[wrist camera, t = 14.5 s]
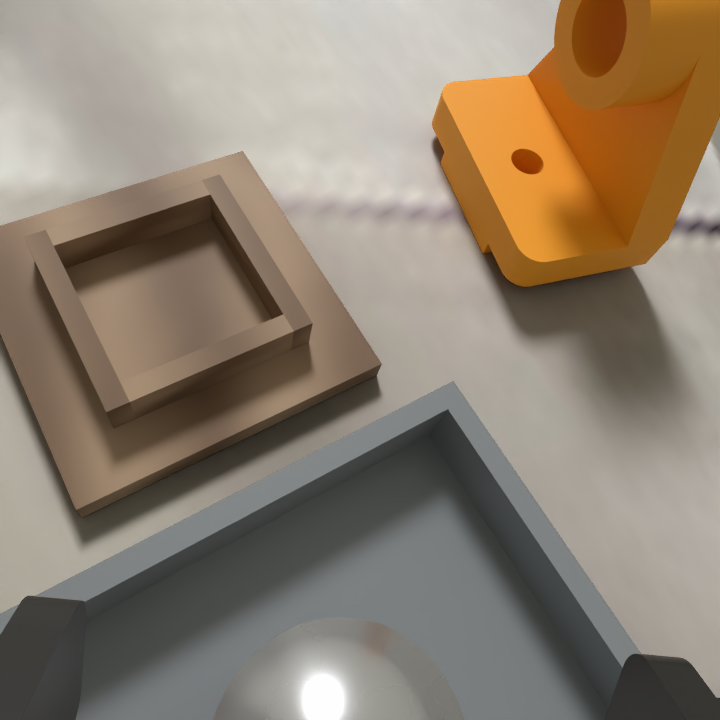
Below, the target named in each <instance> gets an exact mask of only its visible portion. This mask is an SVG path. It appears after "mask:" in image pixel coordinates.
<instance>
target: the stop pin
mask: <svg viewBox="0 0 720 720" xmlns="http://www.w3.org/2000/svg"><path fill="white" fill-rule="evenodd" d="M213 720H465V719H464V717H463V714H462V711H461V708H460V706H459V703H458V701H457V699H456V697H455V695H454V693H453V691H452V689H451V687H450V685H449V683H448V682H447V680H446V679H445V677H444V675H443V674H442V672H441V671H440V669H439V668H438V667H437V666H436V665H435V663H434V662H433V661H432V660H431V659H430V657H429V656H428V655H427V654H425V653H424V652H423V651H422V650H421V649H420V648H419V647H418V646H417V645H416V644H414V643H413V642H412V641H410V640H409V639H407V638H406V637H405V636H403V635H402V634H400V633H398V632H396V631H394V630H392V629H391V628H389V627H386V626H383V625H381V624H378V623H375V622H372V621H368V620H364V619H359V618H349V617H332V618H323V619H318V620H313V621H309V622H306V623H303V624H300V625H297V626H295V627H293V628H291V629H289V630H287V631H285V632H283V633H281V634H279V635H277V636H276V637H275V638H273V639H272V640H270V641H269V642H267V643H266V644H264V645H263V646H262V647H261V648H260V649H259V650H258V651H257V652H255V653H254V654H253V655H252V656H251V657H250V658H249V659H248V661H247V662H246V663H245V664H244V665H243V666H242V667H241V669H240V670H239V671H238V672H237V674H236V675H235V677H234V678H233V680H232V681H231V683H230V684H229V686H228V687H227V689H226V691H225V693H224V695H223V697H222V699H221V701H220V703H219V705H218V707H217V710H216V712H215V715H214V718H213Z"/></svg>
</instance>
